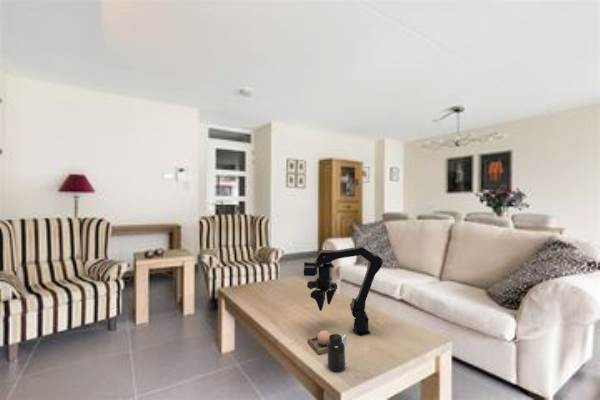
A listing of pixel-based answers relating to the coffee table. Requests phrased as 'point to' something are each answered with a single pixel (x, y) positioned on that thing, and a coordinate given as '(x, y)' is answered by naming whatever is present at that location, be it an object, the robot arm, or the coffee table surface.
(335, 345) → the supplement bottle
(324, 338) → the ball
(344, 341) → the light blue ledge shelf
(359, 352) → the coffee table surface
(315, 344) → the walnut tray
